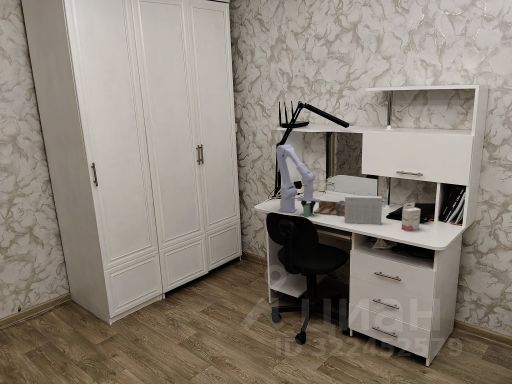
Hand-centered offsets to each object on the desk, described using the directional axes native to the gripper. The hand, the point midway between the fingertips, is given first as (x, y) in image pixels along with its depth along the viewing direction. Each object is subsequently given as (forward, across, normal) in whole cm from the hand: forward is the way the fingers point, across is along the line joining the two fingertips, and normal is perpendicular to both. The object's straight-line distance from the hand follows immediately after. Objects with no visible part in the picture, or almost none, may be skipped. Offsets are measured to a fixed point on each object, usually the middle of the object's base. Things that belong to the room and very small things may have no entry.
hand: (308, 212), depth 256 cm
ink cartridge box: (+2, +62, -6) cm, 62 cm away
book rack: (+2, +12, +10) cm, 16 cm away
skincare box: (+2, +35, -3) cm, 35 cm away
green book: (+2, 0, 0) cm, 2 cm away
